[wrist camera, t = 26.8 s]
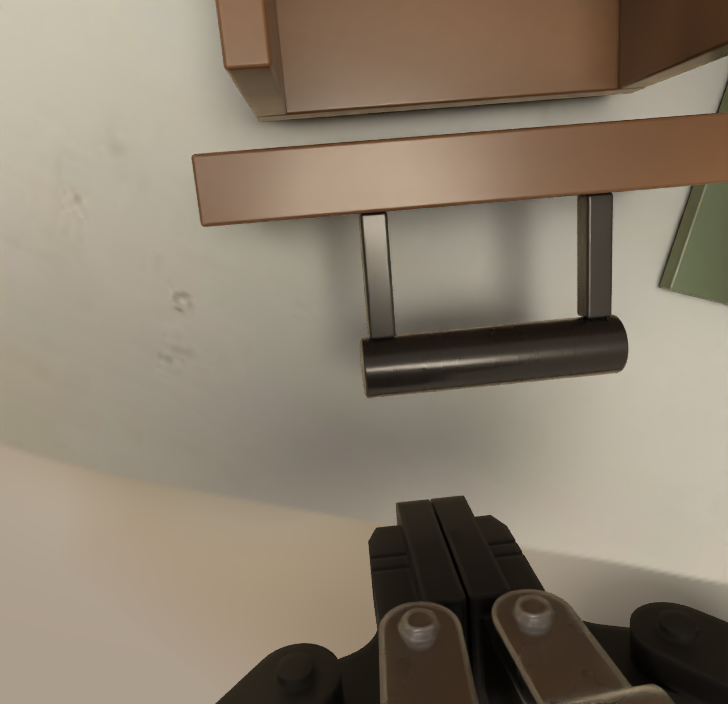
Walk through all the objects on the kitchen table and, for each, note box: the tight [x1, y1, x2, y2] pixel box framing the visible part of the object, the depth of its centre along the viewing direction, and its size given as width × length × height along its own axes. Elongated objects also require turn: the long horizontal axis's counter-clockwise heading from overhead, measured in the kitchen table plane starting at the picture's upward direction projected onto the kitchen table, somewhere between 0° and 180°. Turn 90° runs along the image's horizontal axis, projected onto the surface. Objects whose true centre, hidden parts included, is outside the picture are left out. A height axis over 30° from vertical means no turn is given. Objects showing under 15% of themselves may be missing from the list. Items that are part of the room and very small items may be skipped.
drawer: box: [192, 0, 728, 398], centre depth 13 cm, size 17×11×6 cm
